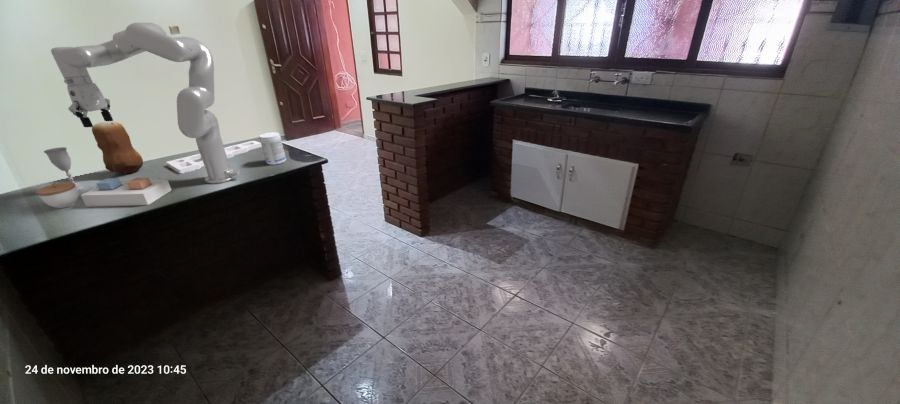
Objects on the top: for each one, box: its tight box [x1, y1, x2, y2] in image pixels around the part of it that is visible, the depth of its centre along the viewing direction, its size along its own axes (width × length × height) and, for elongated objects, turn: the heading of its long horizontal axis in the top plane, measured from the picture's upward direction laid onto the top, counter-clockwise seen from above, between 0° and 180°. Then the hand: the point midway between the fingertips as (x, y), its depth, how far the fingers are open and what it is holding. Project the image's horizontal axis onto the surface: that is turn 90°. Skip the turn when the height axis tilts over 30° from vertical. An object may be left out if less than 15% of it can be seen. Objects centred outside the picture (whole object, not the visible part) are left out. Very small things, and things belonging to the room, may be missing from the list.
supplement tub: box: [259, 131, 287, 166], centre depth 180 cm, size 10×10×15 cm
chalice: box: [43, 146, 85, 191], centre depth 151 cm, size 7×7×18 cm
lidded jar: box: [36, 181, 80, 209], centre depth 139 cm, size 11×11×9 cm
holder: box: [165, 140, 262, 174], centre depth 190 cm, size 45×18×3 cm, turn 143°
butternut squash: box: [91, 121, 144, 175], centre depth 166 cm, size 14×13×25 cm
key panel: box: [80, 179, 172, 207], centre depth 145 cm, size 24×14×5 cm, turn 92°
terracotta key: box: [127, 177, 151, 189], centre depth 144 cm, size 5×5×3 cm
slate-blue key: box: [95, 177, 122, 190], centre depth 143 cm, size 5×5×3 cm
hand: (99, 123), depth 146 cm, fingers open, 9 cm apart
